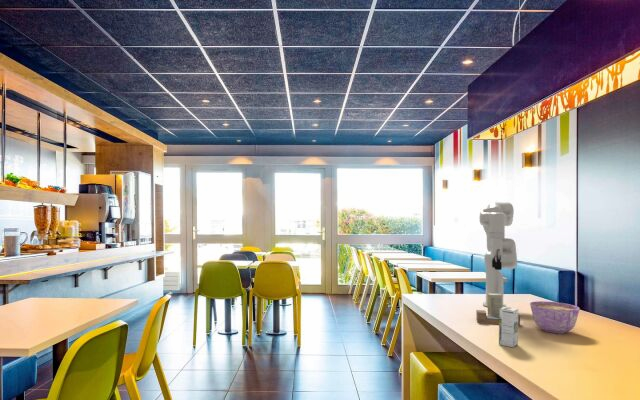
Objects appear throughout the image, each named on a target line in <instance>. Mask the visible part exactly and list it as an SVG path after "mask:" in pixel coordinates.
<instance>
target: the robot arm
mask: <svg viewBox="0 0 640 400" xmlns="http://www.w3.org/2000/svg"><path fill="white" fill-rule="evenodd" d="M514 210H515V209H514V206H513V204H512V203H510V202H504V201H503V202H501V201H500V202H499V201H498V202H491V203H489V204H488V205H487V207H486V208H484V209H482V210H480V212H479V223H480V225H481V226H482V228H483V231H484V232H485V234H486V249H487V252H486V253H485V254H484V257H483V258H484V265H485V266H484V267H485V301H484V302H483V303H482V305H483V306H484V307H487V308H488V296H487V293H490V294H501V295H502V308H503V307H507V304H505V303H504V275H503V272H501V271H502V269H504V270H512V269H513V270H514V269H515V268H517V265H518V257H517V256H518V255H517V245H516V242H515V240H514V239H512V238H508V237H507V238H506V234H505V232H506V231H505V228H506V227H510V226H512V224H513V221H514V214H515V213H514Z"/></svg>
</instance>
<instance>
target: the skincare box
mask: <svg viewBox="0 0 640 400" xmlns="http://www.w3.org/2000/svg"><path fill="white" fill-rule="evenodd" d="M487 296H488V307H487V316H497V317H500V309H501V308H502V295H501V294H490V293H487Z"/></svg>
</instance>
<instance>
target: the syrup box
mask: <svg viewBox="0 0 640 400" xmlns="http://www.w3.org/2000/svg"><path fill="white" fill-rule="evenodd" d="M518 314H519V309H518V308H515V307H510V306H506V307H503V308H501V309H500V317H499V324H498V327H499V328H498V345H499V346H504V347H509V348H515V347H516V346H518V344H519V343H518V342H519V340H518V339H519V337H518V336H519V326H518Z"/></svg>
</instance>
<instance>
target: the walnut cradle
mask: <svg viewBox="0 0 640 400" xmlns="http://www.w3.org/2000/svg"><path fill="white" fill-rule="evenodd" d="M475 319H476V322H477V323H479V324H492V325H499V317H497V316H488V315H487V311H486V310H484V309H476V315H475ZM520 326H521V315H520V314H519V313H518V327H520Z"/></svg>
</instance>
